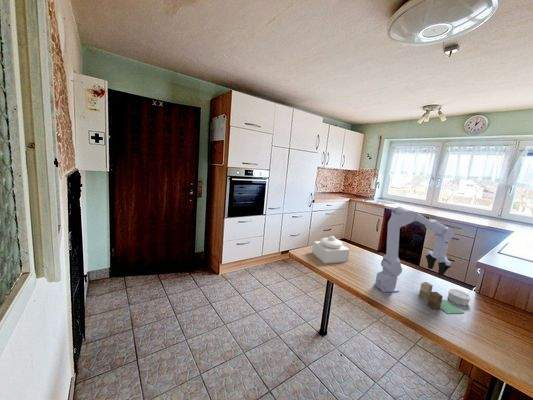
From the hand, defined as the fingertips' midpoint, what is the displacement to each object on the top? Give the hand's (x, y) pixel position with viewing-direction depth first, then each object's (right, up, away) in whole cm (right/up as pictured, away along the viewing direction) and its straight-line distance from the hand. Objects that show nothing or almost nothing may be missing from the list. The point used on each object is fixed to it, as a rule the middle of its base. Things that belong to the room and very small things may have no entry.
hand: (435, 272), depth 125 cm
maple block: (-10, -11, -6) cm, 16 cm away
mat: (-5, -12, -14) cm, 19 cm away
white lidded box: (-48, -1, +35) cm, 59 cm away
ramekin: (+5, -12, -8) cm, 16 cm away
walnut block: (-12, -12, -15) cm, 23 cm away
